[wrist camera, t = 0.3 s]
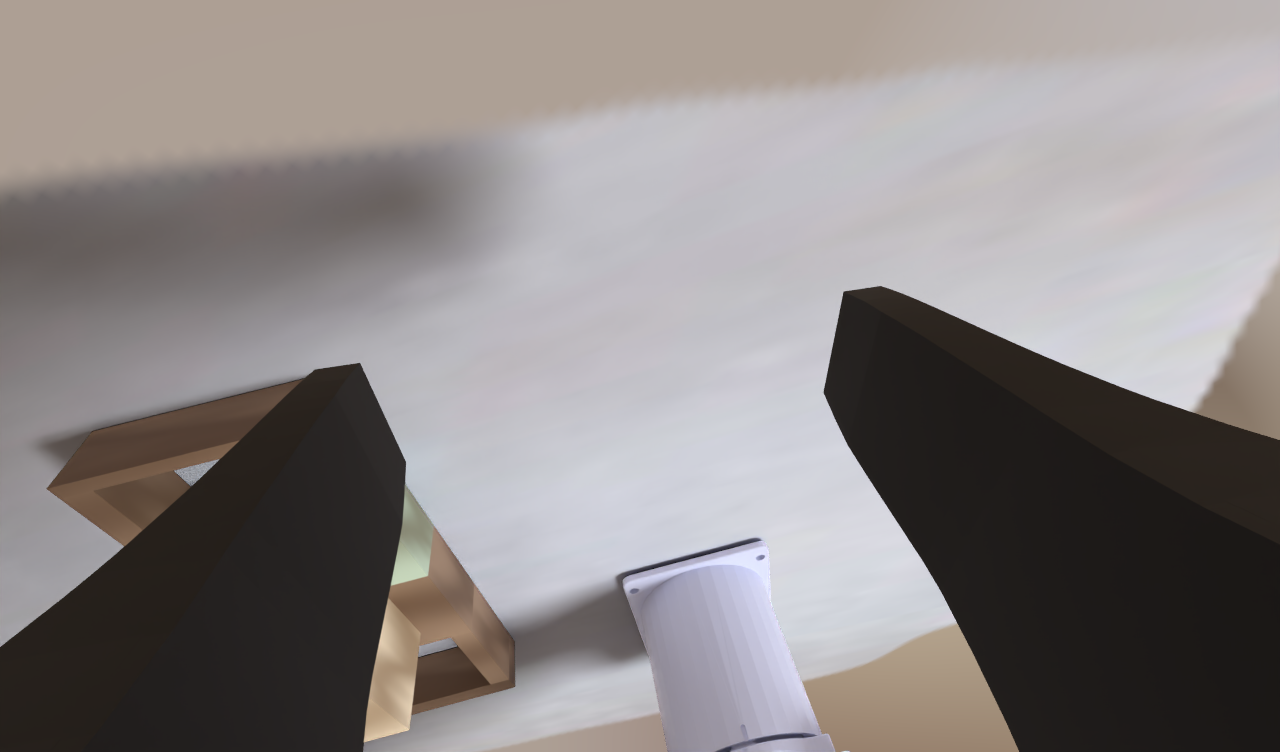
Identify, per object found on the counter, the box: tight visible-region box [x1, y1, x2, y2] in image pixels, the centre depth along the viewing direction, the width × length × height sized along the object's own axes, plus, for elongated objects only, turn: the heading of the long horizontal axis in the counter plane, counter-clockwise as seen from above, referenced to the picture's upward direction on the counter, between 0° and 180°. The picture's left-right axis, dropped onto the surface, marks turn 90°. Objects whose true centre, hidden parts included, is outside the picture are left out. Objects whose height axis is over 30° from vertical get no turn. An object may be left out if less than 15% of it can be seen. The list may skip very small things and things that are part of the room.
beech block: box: [364, 598, 421, 742], centre depth 23 cm, size 4×4×4 cm
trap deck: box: [47, 379, 515, 715], centre depth 25 cm, size 20×8×2 cm, turn 10°
